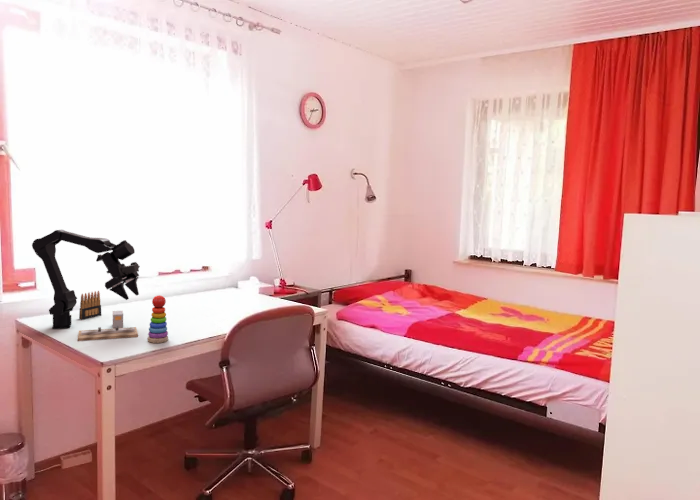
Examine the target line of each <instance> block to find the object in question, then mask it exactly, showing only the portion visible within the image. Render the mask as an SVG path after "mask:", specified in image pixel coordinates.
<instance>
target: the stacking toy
mask: <svg viewBox="0 0 700 500" xmlns="http://www.w3.org/2000/svg"><path fill="white" fill-rule="evenodd" d="M151 302H152V306H153V307H152V309H151V311H152V313H151V318H150V322H149V327H148V334H147V335H148V336H147V339H146V340H147V341H148V342H149V343H151V344H162V343H165V342H167V341H168V340H169V331H168V327H167V326H168V325H167V316H166V315H167V313H166V308H165V305H166V302H167V301H166V298H165V297H164V296H162V295H156V296H154V297H153V298H152V300H151Z"/></svg>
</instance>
